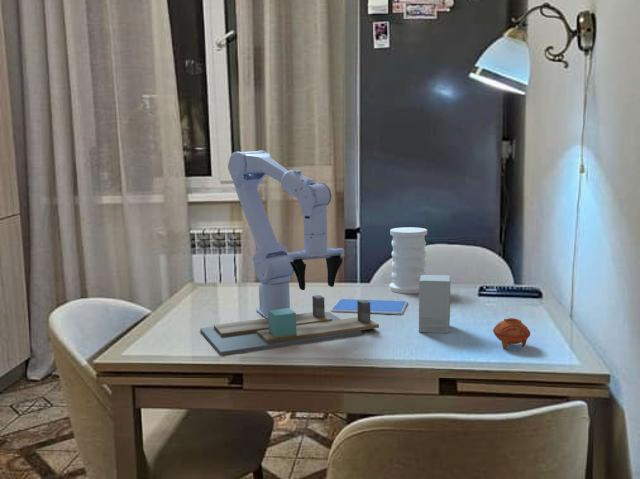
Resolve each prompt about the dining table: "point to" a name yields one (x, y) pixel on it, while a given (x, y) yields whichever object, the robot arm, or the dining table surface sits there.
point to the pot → (511, 332)
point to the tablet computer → (371, 306)
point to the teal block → (282, 322)
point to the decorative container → (407, 259)
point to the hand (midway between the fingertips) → (316, 287)
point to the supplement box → (434, 303)
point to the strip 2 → (327, 326)
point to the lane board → (261, 340)
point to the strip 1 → (263, 324)
